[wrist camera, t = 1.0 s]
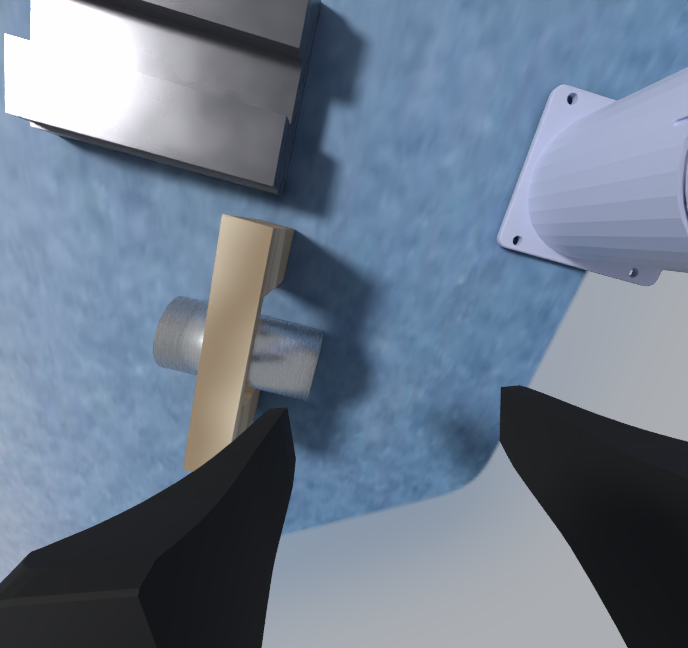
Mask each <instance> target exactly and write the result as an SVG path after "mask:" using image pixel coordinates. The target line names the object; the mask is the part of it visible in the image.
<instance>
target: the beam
mask: <svg viewBox="0 0 688 648" xmlns="http://www.w3.org/2000/svg"><path fill="white" fill-rule="evenodd" d="M293 234H294V229H292V228H288V227H284V226H280V225H277V224H273V223H269V222H266V221H262V220H257V219H251V218H244V217H237V216H231V215H224V214H222V220H221V226H220V233H219V239H218V246H217V252H216V259H215V265H214V271H213V278H212V284H211V291H210V297H209V304H208V310H207V317H206V323H205V330H204V336H203V343H202V349H201V356H200V362H199V368H198V375H197V381H196V388H195V394H194V401H193V407H192V414H191V420H190V427H189V433H188V440H187V446H186V452H185V459H184V465H183V470H188V471H195V470H196V469H198V468H199V467H200V466H202V465H203V464H205V463H206V462H207V461H209V460H210V459H211V458H213V457H214V456H215V455H216V454H217V453H219V452H220V451H221V450H222V449H224V448H225V447H226V446H227V445H229V444H230V443H231V442H232V441H234V440H235V439H236V438H237V437H238V436H239V435H240V434H242V433H243V432H244V431H245V430H246V429H247V428H248V427H249V426H250V424H251V422H252V420H253V418H254V416H255V413H256V409H257V404H258V399H259V394H260V390H258V389H253V388H249V387H246V383H247V378H248V373H249V368H250V363H251V358H252V353H253V348H254V343H255V338H256V332H257V327H258V322H259V317H260V312H261V307H262V302H263V297H264V296H266V295H267V294H268V293H269V292H271V291H272V290H273V289H274V288H276V287H277V286H278V285H279V284H281V283H282V282H283V281H284V277H285V272H286V267H287V262H288V258H289V253H290V248H291V243H292V239H293Z"/></svg>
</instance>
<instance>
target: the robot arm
mask: <svg viewBox="0 0 688 648" xmlns="http://www.w3.org/2000/svg"><path fill="white" fill-rule="evenodd" d="M568 96H570V97H572V104H571V105H570V104H568V102H567V97H568ZM515 236H517V237H518V239H519V241H518V243H517V244H516V245H514V244H513V238H514V237H515ZM497 242H498V244H499V245H500V246H501V247H504V248H508V249H511V250H515V251H519V252H522V253H526V254H530V255H533V256H537V257H540V258H544V259H548V260H551V261H555V262H559V263H562V264H566V265H569V266H573V267H577V268H580V269H584V270H587V271H591V272H595V273H598V274H602V275H606V276H609V277H613V278H616V279H620V280H624V281H627V282H631V283H635V284H638V285H643V286H650V285H652V284H654V283H655V282H656V281H657V279H658V277H659V275H660V273H661V271H662V270H669V271H678V272H686V273H688V67H686V68H684V69H682V70H680V71H678V72H676V73H674V74H672V75H670V76H668V77H666V78H664V79H662V80H659V81H657V82H655V83H653V84H651V85H649V86H647V87H645V88H643V89H641V90H639V91H637V92H635V93H632V94H630V95H628V96H626V97H624V98H622V99H620V100H618V101H616V100H613V99H610V98H607V97H604V96H600V95H597V94H594V93H591V92H588V91H585V90H581V89H578V88H575V87H572V86H569V85H560V86H558V87H557V88H555V89H554V90H553V91H552V92H551V94H550V95H549V98H548V101H547V103H546V106H545V109H544V111H543V114H542V117H541V120H540V122H539V125H538V128H537V130H536V133H535V136H534V138H533V141H532V144H531V147H530V149H529V152H528V155H527V157H526V160H525V163H524V165H523V168H522V171H521V174H520V176H519V179H518V182H517V184H516V187H515V190H514V192H513V195H512V198H511V201H510V203H509V206H508V209H507V211H506V214H505V217H504V220H503V222H502V225H501V228H500V230H499V233H498V236H497ZM631 269H632V270H633V272H632V274H631V276H629V272H630V270H631ZM500 442H501V444H502V446H503V448H504V450H505V452H506V454H507V456H508V458H509V459H510V461H511V463H512V465H513V467H514V468H515V470H516V471H517V473H518V474H519V475H520V477H521V478H522V480H523V481H524V482H525V484H526V485H527V487H528V488H529V489H530V491H531V492H532V493H533V495H534V496H535V498H536V499H537V500H538V502H539V503H540V504H541V506H542V507H543V509H544V510H545V512H546V513H547V514H548V515H549V517H550V518H551V520H552V521H553V522H554V524H555V525H556V527H557V528H558V529H559V531H560V532H561V533H562V535H563V536H564V538H565V540H566V541H567V543H568V544H569V546H570V547H571V549H572V550H573V552H574V554H575V556H576V557H577V559H578V560H579V562H580V564H581V566H582V567H583V569H584V571H585V572H586V574H587V576H588V577H589V579H590V581H591V582H592V584H593V586H594V587H595V589H596V591H597V593H598V595H599V596H600V598H601V600H602V602H603V604H604V605H605V607H606V609H607V611H608V613H609V614H610V616H611V618H612V620H613V621H614V623H615V625H616V627H617V628H618V630H619V632H620V634H621V636H622V638H623V640H624V642H625V644H626V645H627V647H628V648H688V442H687V441H683V440H679V439H675V438H671V437H668V436H664V435H660V434H657V433H654V432H650V431H647V430H643V429H639V428H637V427H634V426H630V425H627V424H624V423H621V422H618V421H615V420H613V419H610V418H606V417H604V416H601V415H598V414H595V413H593V412H590V411H587V410H585V409H582V408H579V407H577V406H574V405H571V404H569V403H567V402H564V401H561V400H559V399H556V398H554V397H551V396H549V395H546V394H544V393H541V392H538V391H536V390H532V389H530V388H527V387H523V386H520V385H519V386H509V387H501V405H500ZM295 462H296V457H295V451H294V445H293V439H292V433H291V428H290V422H289V416H288V410H287V408H276V409H269V410H268V411H266V412H265V413H264V414H263V415H262V416H260V417H259V418H258V419H257V420H256V421H255V422H254V423H253V424H252V425H251V426H249V427H248V428H247V429H246V430H245V431H244V432H243V433H242V434H240V435H239V436H238V437H237V438H236V439H235V440H234V441H232V442H231V443H230V444H229V445H227V446H226V447H225V448H224V449H222V450H221V451H220V452H219V453H217V454H216V455H215V456H214V457H213V458H211V459H210V460H209V461H207V462H206V463H205V464H203V465H202V466H200V467H199V468H198V469H196V470H195V471H193V472H192V473H190V474H189V475H187V476H186V477H184V478H183V479H181V480H180V481H178V482H176V483H175V484H173V485H171V486H170V487H168V488H166V489H165V490H163V491H161V492H159V493H158V494H156V495H154V496H152V497H151V498H149V499H147V500H146V501H144V502H142V503H140V504H138V505H136V506H134V507H132V508H130V509H128V510H126V511H124V512H123V513H121V514H118V515H116V516H114V517H112V518H110V519H108V520H106V521H104V522H102V523H100V524H97V525H95V526H93V527H91V528H88V529H86V530H84V531H81V532H79V533H77V534H74V535H72V536H69V537H67V538H64V539H62V540H60V541H57V542H55V543H52V544H50V545H48V546H45V547H43V548H40V549H37V550H35V551H32V552H30V553H29V554H28V555H27V556H26V557H25V558H24V559H23V560H22V561H21V562H20V563H19V565H18V566H17V567H16V568H15V569H14V570H13V571H12V572H11V573H10V574H9V575H8V576H7V577H6V578H5V579H4V580H3V581H2V582H1V583H0V648H261V647H262V640H263V633H264V625H265V618H266V610H267V604H268V598H269V590H270V584H271V578H272V571H273V566H274V561H275V557H276V552H277V548H278V544H279V540H280V536H281V532H282V528H283V524H284V520H285V516H286V512H287V508H288V504H289V500H290V496H291V492H292V487H293V480H294V471H295Z"/></svg>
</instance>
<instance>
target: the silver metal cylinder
mask: <svg viewBox="0 0 688 648" xmlns="http://www.w3.org/2000/svg"><path fill="white" fill-rule="evenodd" d="M208 304H209V302H205V301H201V300H197V299H193V298H189V297H184V296H179V297H177V298H175V299H174V300H173V301H172V302H171V303H170V304H169V305H168V306H167V308H166V309H165V311H164V313H163V314H162V316H161V319H160V321H159V324H158V326H157V330H156V333H155V338H154V345H153V354H154V359H155V362H156V364H157V365H158V366H160V367H163V368H168V369H172V370H176V371H180V372H185V373H189V374H193V375H198V368H199V362H200V356H201V349H202V343H203V336H204V330H205V323H206V317H207V310H208ZM323 336H324V331H322V330H317V329H313V328H309V327H305V326H301V325H297V324H293V323H289V322H285V321H281V320H277V319H273V318H269V317H265V316H261V315H260V317H259V322H258V327H257V332H256V338H255V343H254V348H253V353H252V358H251V363H250V368H249V373H248V378H247V383H246V387H249V388H253V389H258V390H262V391H266V392H271V393H275V394H279V395H284V396H288V397H292V398H296V399H301V400H305V401H307V400H308V396H309V393H310V389H311V385H312V381H313V377H314V373H315V369H316V365H317V361H318V357H319V353H320V349H321V345H322V340H323Z"/></svg>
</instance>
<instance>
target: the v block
mask: <svg viewBox="0 0 688 648" xmlns="http://www.w3.org/2000/svg"><path fill="white" fill-rule="evenodd" d="M320 4H321V0H31V41H28V40H25V39H21V38H18V37H14V36H11V35H8V34H5V113H8V114H11V115H14V116H17V117H19V118H22V119H25V120H28V121H30V126H32V127H35V128H38V129H41V130H44V131H47V132H49V133H52V134H55V135H59V136H62V137H66V138H70V139H73V140H77V141H81V142H84V143H88V144H92V145H95V146H99V147H103V148H106V149H110V150H113V151H117V152H121V153H124V154H128V155H132V156H135V157H139V158H143V159H146V160H150V161H154V162H157V163H161V164H165V165H168V166H172V167H176V168H179V169H183V170H187V171H190V172H194V173H197V174H201V175H205V176H208V177H212V178H216V179H219V180H223V181H227V182H230V183H234V184H238V185H241V186H245V187H249V188H252V189H256V190H260V191H263V192H267V193H271V194H274V195H278V196H281V197H282V196H283V191H284V186H285V181H286V176H287V171H288V166H289V161H290V156H291V151H292V146H293V141H294V136H295V131H296V126H297V121H298V116H299V111H300V105H301V100H302V95H303V90H304V85H305V80H306V75H307V70H308V65H309V60H310V55H311V50H312V45H313V40H314V35H315V30H316V25H317V20H318V14H319V9H320Z"/></svg>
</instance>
